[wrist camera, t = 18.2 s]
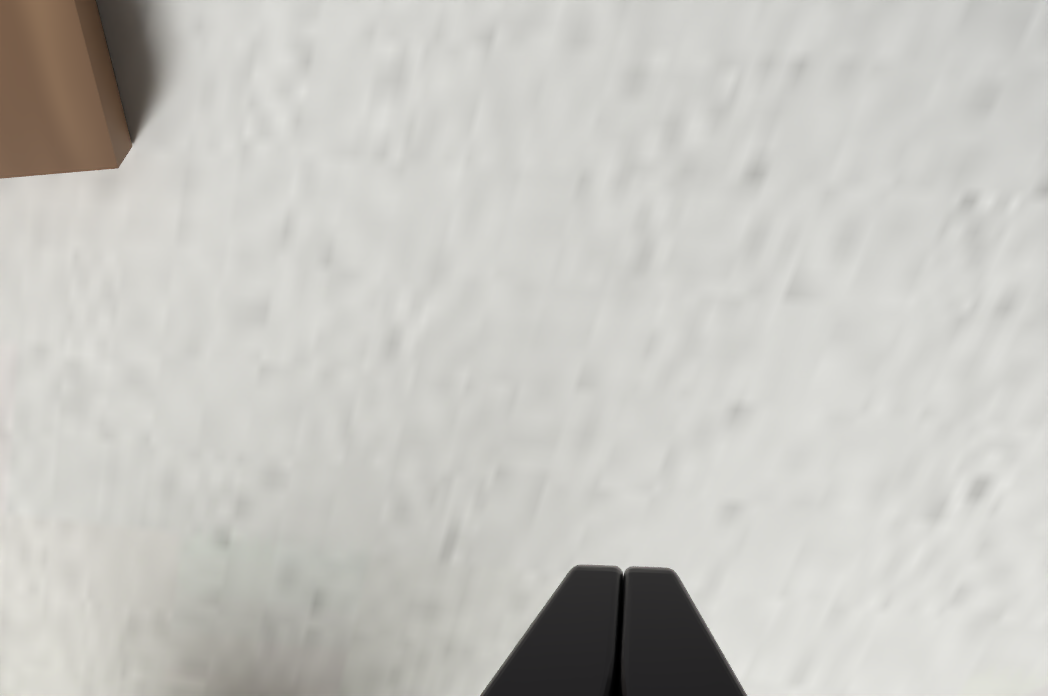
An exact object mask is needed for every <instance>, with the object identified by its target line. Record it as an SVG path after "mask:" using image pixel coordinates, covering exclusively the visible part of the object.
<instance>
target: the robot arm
mask: <svg viewBox="0 0 1048 696" xmlns="http://www.w3.org/2000/svg"><path fill="white" fill-rule="evenodd" d="M480 696H747V694H746V693H745V691H744V689H743V687H742V686H741V684H740V682H739V680H738V679H737V677H736V675H735V674H734V672H733V670H732V668H731V667H730V665H729V663H728V661H727V660H726V658H725V656H724V654H723V653H722V651H721V649H720V647H719V646H718V644H717V642H716V641H715V639H714V637H713V635H712V634H711V632H710V630H709V628H708V627H707V625H706V623H705V621H704V620H703V618H702V616H701V615H700V613H699V611H698V609H697V608H696V606H695V604H694V602H693V601H692V599H691V597H690V595H689V594H688V592H687V590H686V588H685V587H684V585H683V583H682V582H681V580H680V578H679V577H678V575H677V574H676V572H675V571H673V570H672V569H670V568H661V567H634V566H633V567H629V568H627V569H626V571H625V572H624V577H623V572H622V571H621V569H620V568H619V567H617V566H605V565H577V566H575V567H573V568H572V569H571V570H570V571H569V573H568V574H567V575H566V577H565V578H564V579H563V581H562V582H561V584H560V585H559V586H558V588H557V589H556V591H555V592H554V593H553V595H552V596H551V598H550V599H549V600H548V602H547V603H546V605H545V606H544V607H543V609H542V610H541V612H540V613H539V614H538V616H537V617H536V619H535V620H534V621H533V623H532V624H531V625H530V627H529V628H528V630H527V631H526V632H525V634H524V635H523V637H522V638H521V639H520V641H519V642H518V644H517V645H516V646H515V648H514V649H513V651H512V652H511V653H510V655H509V656H508V658H507V659H506V660H505V662H504V663H503V665H502V666H501V667H500V669H499V670H498V671H497V673H496V674H495V676H494V677H493V678H492V680H491V681H490V683H489V684H488V685H487V687H486V688H485V690H484V691H483V692H482V694H481V695H480Z"/></svg>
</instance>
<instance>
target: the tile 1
mask: <svg viewBox="0 0 1048 696" xmlns="http://www.w3.org/2000/svg"><path fill="white" fill-rule="evenodd" d="M131 148H132V142H131V138H130V134H129V130H128V127H127V123H126V119H125V115H124V111H123V107H122V103H121V99H120V95H119V91H118V87H117V83H116V79H115V75H114V71H113V67H112V63H111V59H110V55H109V51H108V47H107V43H106V39H105V35H104V31H103V27H102V23H101V19H100V15H99V11H98V7H97V3H96V0H0V178H11V177H23V176H34V175H46V174H57V173H69V172H80V171H92V170H103V169H115V168H119V166H120V165H121V163H122V161H123V160H124V158H125V157H126V155H127V154H128V152H129V151H130V149H131Z"/></svg>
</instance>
